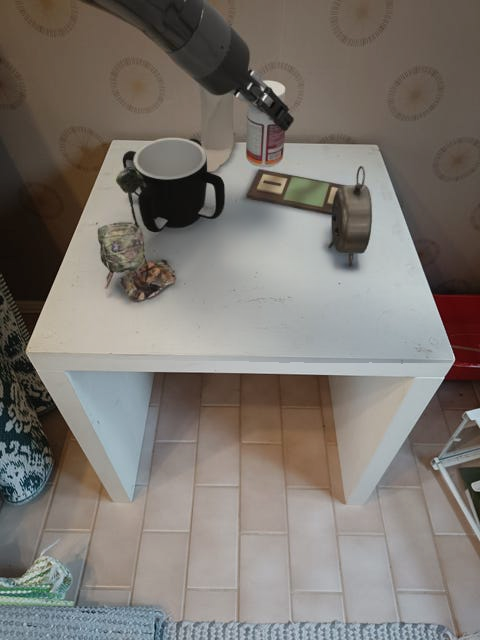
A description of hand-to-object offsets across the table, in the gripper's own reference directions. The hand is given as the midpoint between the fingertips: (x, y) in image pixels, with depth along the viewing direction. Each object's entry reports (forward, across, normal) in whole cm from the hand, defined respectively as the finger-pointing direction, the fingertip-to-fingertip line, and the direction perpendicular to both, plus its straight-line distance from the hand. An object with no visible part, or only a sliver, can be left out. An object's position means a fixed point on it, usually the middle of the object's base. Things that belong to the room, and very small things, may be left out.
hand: (275, 115), depth 67 cm
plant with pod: (-6, -4, +33) cm, 34 cm away
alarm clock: (+17, -15, +10) cm, 25 cm away
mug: (+3, +9, +24) cm, 26 cm away
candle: (+14, +22, +12) cm, 29 cm away
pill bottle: (+4, 0, +6) cm, 7 cm away
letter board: (+20, 0, +7) cm, 21 cm away
